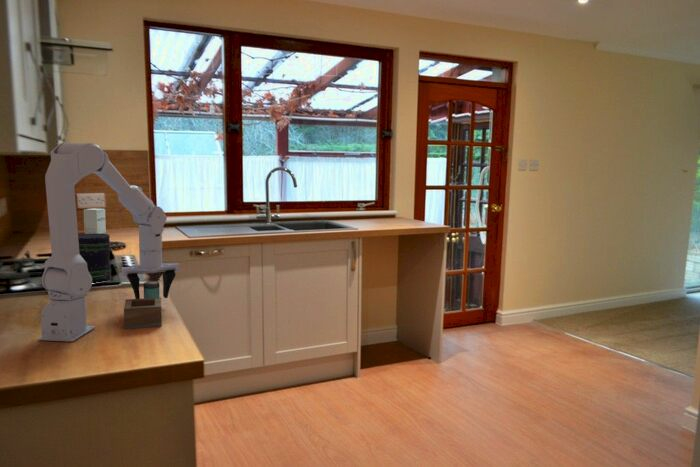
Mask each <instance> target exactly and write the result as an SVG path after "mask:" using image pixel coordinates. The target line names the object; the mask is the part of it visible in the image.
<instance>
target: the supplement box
mask: <svg viewBox="0 0 700 467" xmlns="http://www.w3.org/2000/svg"><path fill="white" fill-rule="evenodd" d="M106 222H107V220H106V208H98V207H97V208H96V207H95V208H94V207H93V208H86V209H85V208H84V209H83V224H84V225H83V226H84V227H83V228H84V230H83V234H107V233H106V232H107V231H106V230H107V229H106V228H107V227H106V226H107V225H106Z"/></svg>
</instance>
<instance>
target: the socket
mask: <svg viewBox="0 0 700 467" xmlns="http://www.w3.org/2000/svg"><path fill="white" fill-rule="evenodd" d="M162 319H163V318H162V297H160V298H144V297H143V298H140V299H135V298H132V299H131V298H130V299H129V298H128V299H125V302H124V306H123V320H124V321H123V324H124V327H123V328H124V330H130V329H131V330H132V329H144V328H145V329H146V328H157V327H162V326H163V324H162V321H163V320H162Z"/></svg>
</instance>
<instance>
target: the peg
mask: <svg viewBox="0 0 700 467" xmlns="http://www.w3.org/2000/svg"><path fill="white" fill-rule="evenodd" d="M142 285H143V299H144V298H161V296H160V281H156V280H155V281H145V282H143V284H142Z"/></svg>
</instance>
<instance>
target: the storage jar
mask: <svg viewBox="0 0 700 467" xmlns="http://www.w3.org/2000/svg"><path fill="white" fill-rule="evenodd" d="M110 237H111V236H110V234H108V233H102V234H84V233H83V234H78V242H79V254H80V255H81V257H82V258H83V259H84V260H85V262H86V263H87V268H88V271H89V273H90V275H91V277H92V283H96V282H102V281H108V280H111V281H112V278H111V276H112V275H111V273H112V268H111V262H110V259H111V258H110V253H111V242H110V241H111V240H110Z"/></svg>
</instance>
